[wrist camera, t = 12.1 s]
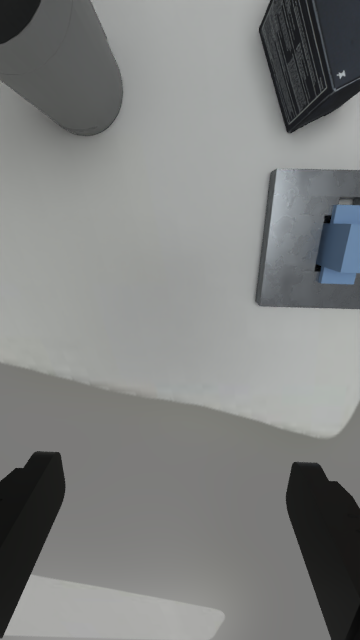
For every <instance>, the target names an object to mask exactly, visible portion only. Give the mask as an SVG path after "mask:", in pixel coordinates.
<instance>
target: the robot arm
mask: <svg viewBox="0 0 360 640" xmlns="http://www.w3.org/2000/svg"><path fill="white" fill-rule="evenodd" d="M0 80H1V81H2V82H3V83H5V84H6V85H7V86H9V87H10V88H11V89H13V90H14V91H15V92H17V93H18V94H19V95H20V96H22V97H23V98H24V99H26V100H27V101H28V102H30V103H31V104H32V105H34V106H35V107H36V108H38V109H39V110H40V111H42V112H43V113H44V114H46V115H47V116H48V117H50V118H51V119H52V120H54V121H55V122H56V123H58V124H59V125H60V126H61V127H63V128H65V129H66V130H68V131H69V132H72V133H75V134H77V135H84V136H87V135H94V134H97V133H99V132H102V131H103V130H105V129H106V128H107V127H109V125H110V124H111V123H112V122H113V121H114V119H115V118H116V116H117V114H118V112H119V109H120V106H121V102H122V94H123V88H122V79H121V74H120V70H119V68H118V65H117V63H116V60H115V58H114V56H113V54H112V52H111V49H110V47H109V45H108V42H107V37H106V34H105V32H104V30H103V27H102V25H101V23H100V21H99V18H98V16H97V14H96V12H95V9H94V7H93V5H92V2H91V0H0ZM64 493H65V478H64V472H63V467H62V460H61V455H60V453H59V452H41V451H37V452H35V453H34V454H33V455H32V456H31V458H30V459H29V460H28V462H27V464H26V465H25V466H24V468H15V469H14V470H13V471H12V472H11V473H10V474H8V475H7V476H6V477H5V478H4V479H2V480H1V481H0V638H2V637H3V635H4V633H5V631H6V628H7V626H8V624H9V622H10V619H11V617H12V615H13V613H14V610H15V608H16V606H17V604H18V601H19V599H20V597H21V595H22V592H23V590H24V588H25V586H26V583H27V581H28V579H29V577H30V574H31V572H32V570H33V568H34V565H35V563H36V561H37V559H38V556H39V554H40V552H41V550H42V547H43V545H44V543H45V541H46V538H47V536H48V534H49V532H50V529H51V527H52V525H53V522H54V520H55V518H56V516H57V514H58V512H59V509H60V507H61V505H62V502H63V498H64ZM286 504H287V511H288V514H289V518H290V521H291V523H292V526H293V529H294V532H295V535H296V538H297V541H298V544H299V546H300V550H301V553H302V555H303V558H304V561H305V564H306V567H307V570H308V573H309V576H310V579H311V582H312V585H313V587H314V590H315V593H316V596H317V599H318V602H319V605H320V608H321V611H322V614H323V617H324V619H325V622H326V625H327V628H328V631H329V634H330V637H331V640H360V508H359V507H358V505H357V504H356V502H355V500H354V498H353V497H352V496H351V495H350V494H349V493H348V492H347V491H346V490H345V489H344V488H343V487H342V486H341V485H340V484H339V483H338V482H337V481H329V480H328V479H327V477H326V475H325V473H324V471H323V469H322V468H321V466H320V465H319V464H318V463H308V462H294V463H293V464H292V468H291V473H290V478H289V483H288V488H287V492H286Z"/></svg>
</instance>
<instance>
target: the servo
mask: <svg viewBox="0 0 360 640" xmlns="http://www.w3.org/2000/svg"><path fill="white" fill-rule="evenodd" d="M316 265H319V266H321V271H320V276H319V281H318V282H319V283H323V284H354V281H355V277H356V273H360V205H334V206H333V211H332V216H331V221H330V223H323V227H322V233H321V238H320V243H319V249H318V254H317V259H316Z"/></svg>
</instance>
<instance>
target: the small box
mask: <svg viewBox="0 0 360 640" xmlns="http://www.w3.org/2000/svg"><path fill="white" fill-rule="evenodd" d="M259 32H260V35H261V39H262V42H263V46H264V50H265V53H266V57H267V61H268V65H269V68H270V71H271V75H272V79H273V82H274V86H275V89H276V93H277V97H278V100H279V104H280V107H281V111H282V114H283V118H284V121H285V125H286V128H287V132H289V133H292V132H294V131H295V130H297V129H298V128H300V127H303V126H304V125H307V124H308V123H310V122H312V121H314V120H316V119H318V118H320V117H322V116H325V115H327V114H329V113H331V112H332V111H334V110H335V109H337V108H339V107H340V106H341V105H343V104H344V103H345V102H347V101H348V100H349V99H350V98H352V97H353V96H354V95H356V94H357V93H358V92H360V0H270V3H269V5H268V7H267V10H266V13H265V16H264V18H263V20H262V23H261V25H260V27H259Z"/></svg>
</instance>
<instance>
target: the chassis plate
mask: <svg viewBox="0 0 360 640" xmlns="http://www.w3.org/2000/svg"><path fill="white" fill-rule="evenodd" d="M339 199H354V200H353V205H360V170H317V169H276V170H274V171H272V172H271V174H270V183H269V191H268V200H267V208H266V216H265V225H264V233H263V242H262V250H261V258H260V267H259V275H258V283H257V292H256V300H255V301H256V302H257V303H258V305H259V306H271V307H306V308H341V309H360V273H356V277H355V281H354V284H323V283H319V282H318V281H319V276H320V271H321V269H315V265H316V259H317V254H318V249H319V243H320V238H321V233H322V227H323V222H324V217H325V216H332V211H333V206H334V205H338V203H339Z"/></svg>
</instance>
